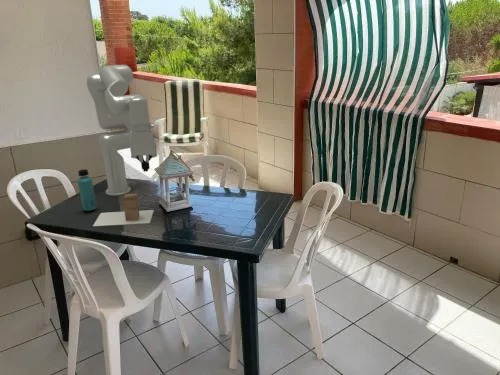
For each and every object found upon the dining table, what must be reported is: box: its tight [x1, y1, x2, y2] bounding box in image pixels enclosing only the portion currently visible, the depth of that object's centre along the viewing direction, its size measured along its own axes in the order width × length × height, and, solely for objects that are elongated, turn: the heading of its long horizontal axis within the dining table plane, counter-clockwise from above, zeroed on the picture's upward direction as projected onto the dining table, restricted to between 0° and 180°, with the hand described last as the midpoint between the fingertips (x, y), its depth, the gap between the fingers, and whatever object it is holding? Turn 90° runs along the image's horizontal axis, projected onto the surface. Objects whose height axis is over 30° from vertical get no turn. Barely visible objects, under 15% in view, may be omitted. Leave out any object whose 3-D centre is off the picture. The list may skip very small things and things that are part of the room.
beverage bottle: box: [77, 168, 97, 212], centre depth 185 cm, size 6×7×20 cm
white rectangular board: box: [92, 209, 155, 227], centre depth 180 cm, size 14×24×1 cm, turn 95°
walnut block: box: [122, 193, 140, 222], centre depth 176 cm, size 5×5×11 cm
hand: (146, 170), depth 171 cm, fingers closed
